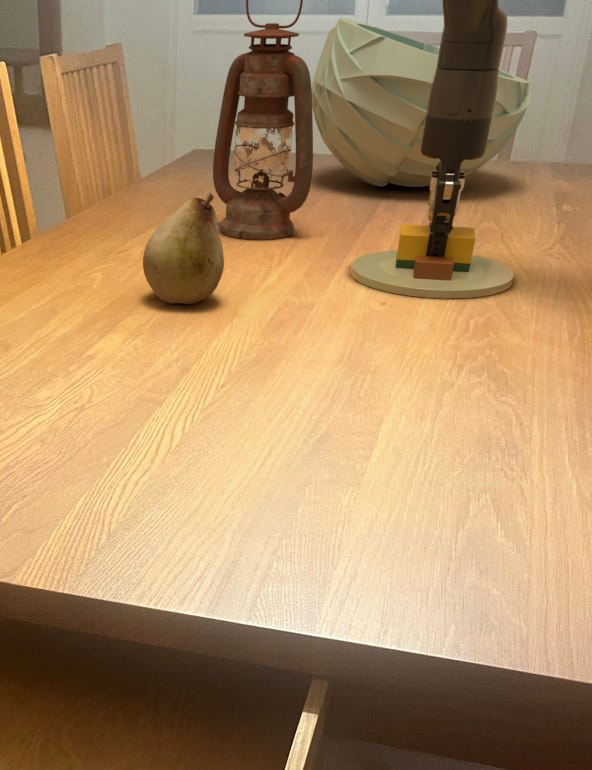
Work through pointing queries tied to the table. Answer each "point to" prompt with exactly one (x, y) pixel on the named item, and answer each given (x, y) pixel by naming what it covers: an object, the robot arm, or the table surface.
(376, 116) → the bowl
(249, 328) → the table surface
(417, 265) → the brown rectangular block
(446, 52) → the robot arm
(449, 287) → the plate
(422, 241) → the sponge
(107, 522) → the table surface
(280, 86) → the lantern
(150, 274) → the fruit
